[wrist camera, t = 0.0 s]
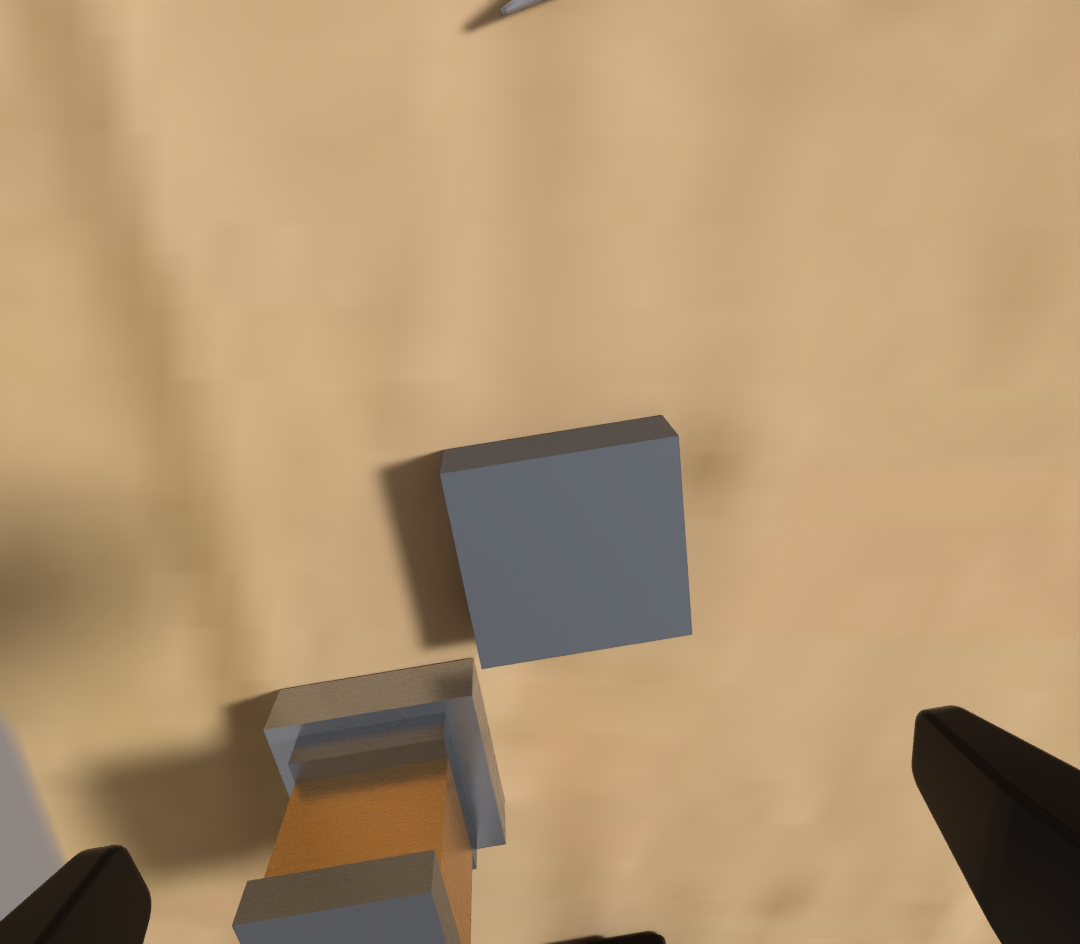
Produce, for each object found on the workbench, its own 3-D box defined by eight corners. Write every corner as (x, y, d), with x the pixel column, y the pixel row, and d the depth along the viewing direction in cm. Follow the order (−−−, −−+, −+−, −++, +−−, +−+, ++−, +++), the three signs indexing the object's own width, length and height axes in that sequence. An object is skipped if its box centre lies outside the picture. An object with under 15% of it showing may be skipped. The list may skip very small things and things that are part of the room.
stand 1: (504, 800, 27) (505, 843, 25) (330, 829, 27) (319, 875, 25) (473, 658, 25) (472, 695, 23) (280, 689, 25) (263, 729, 23)
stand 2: (676, 601, 24) (692, 634, 22) (482, 632, 24) (481, 669, 22) (662, 415, 22) (678, 435, 20) (443, 449, 22) (439, 474, 20)
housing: (477, 838, 25) (474, 1036, 19) (342, 861, 25) (298, 1066, 19) (445, 712, 23) (431, 892, 17) (297, 736, 23) (231, 925, 17)
